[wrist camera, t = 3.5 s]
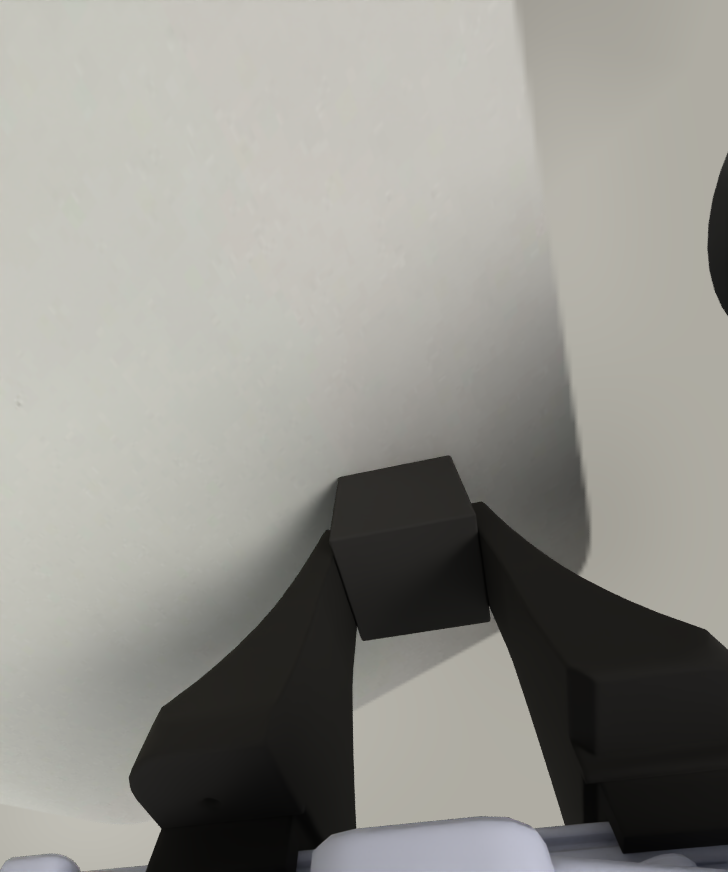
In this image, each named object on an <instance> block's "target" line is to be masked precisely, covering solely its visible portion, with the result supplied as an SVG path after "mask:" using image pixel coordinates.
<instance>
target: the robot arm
mask: <svg viewBox="0 0 728 872" xmlns="http://www.w3.org/2000/svg"><path fill="white" fill-rule="evenodd" d="M471 505H472V507H473V509H474V512H475V514H476V520H477V527H478V534H479V541H480V548H481V555H482V562H483V569H484V576H485V583H486V590H487V597H488V604H489V607H490V609H491V611H492V614H493V616H494V618H495V620H496V623H497V625H498V627H499V630H500V632H501V634H502V637H503V639H504V641H505V643H506V646H507V648H508V650H509V653H510V656H511V658H512V661H513V663H514V666H515V669H516V673H517V676H518V679H519V682H520V685H521V688H522V691H523V693H524V697H525V700H526V703H527V706H528V709H529V712H530V715H531V718H532V721H533V724H534V727H535V730H536V734H537V737H538V740H539V743H540V746H541V750H542V753H543V756H544V759H545V762H546V765H547V769H548V772H549V775H550V778H551V781H552V785H553V788H554V791H555V794H556V797H557V801H558V804H559V807H560V811H561V814H562V817H563V820H564V824H565V826H555V827H544V828H532V827H531V826H530V825H528V824H525V823H522V822H520V821H517V820H514V819H512V818H509V817H488V816H487V817H486V816H479V817H468V818H458V819H448V820H439V821H428V822H418V823H408V824H399V825H389V826H379V827H369V828H358V829H356V814H355V793H354V792H355V790H354V760H353V701H352V684H353V666H354V654H355V643H356V631H357V624H356V621H355V618H354V615H353V612H352V609H351V606H350V603H349V600H348V597H347V594H346V591H345V588H344V585H343V582H342V579H341V576H340V573H339V570H338V567H337V564H336V561H335V558H334V555H333V552H332V549H331V546H330V543H329V536H330V530H326V531H325V532H324V534H323V536H322V537H321V539H320V540H319V542H318V544H317V545H316V547H315V549H314V550H313V552H312V554H311V555H310V557H309V558H308V560H307V562H306V563H305V565H304V566H303V568H302V569H301V571H300V572H299V574H298V575H297V577H296V578H295V580H294V581H293V583H292V584H291V585H290V587H289V588H288V589H287V591H286V592H285V594H284V595H283V596H282V598H281V599H280V600H279V602H278V603H277V604H276V605H275V607H274V608H273V609H272V610H271V611H270V612H269V614H268V615H267V616H266V617H265V618H264V619H263V620H262V622H261V623H260V624H259V625H258V626H257V627H256V628H255V629H254V630H253V631H252V632H251V633H250V634H249V635H248V636H247V637H246V638H245V639H244V640H243V641H242V642H241V643H240V644H239V645H238V646H237V647H236V648H235V649H234V650H233V651H232V652H231V653H229V654H228V655H227V656H226V657H225V658H224V659H223V660H222V661H221V662H219V663H218V664H217V665H216V666H215V667H214V668H212V669H211V670H210V671H209V672H208V673H206V674H205V675H204V676H203V677H201V678H200V679H199V680H198V681H197V682H195V683H194V684H193V685H191V686H190V687H189V688H187V689H186V690H185V691H183V692H182V693H181V694H179V695H178V696H177V697H175V698H174V699H173V700H171V701H170V702H169V703H167V704H166V705H164V706H163V707H162V708H161V710H160V712H159V713H158V715H157V717H156V719H155V721H154V723H153V725H152V727H151V729H150V732H149V734H148V736H147V738H146V740H145V742H144V744H143V746H142V748H141V751H140V753H139V755H138V757H137V759H136V761H135V763H134V765H133V767H132V770H131V773H130V775H129V783H130V788H131V791H132V793H133V794H134V796H135V798H136V799H137V801H138V802H139V803H140V804H141V805H142V806H143V808H144V809H145V810H146V811H147V812H148V813H149V815H150V816H151V817H152V818H153V819H154V820H155V821H156V823H157V824H158V825H159V826H160V827H161V832H160V834H159V837H158V840H157V842H156V845H155V848H154V851H153V853H152V856H151V858H150V861H149V864H148V865H146V866H135V867H126V868H114V869H105V870H94V871H83V872H728V649H726V647H724V646H723V645H722V644H721V643H720V642H719V641H718V640H717V639H715V638H714V637H713V636H712V635H711V634H710V633H709V632H708V631H707V630H705V629H702V628H700V627H697V626H694V625H691V624H688V623H686V622H683V621H680V620H677V619H674V618H671V617H668V616H666V615H663V614H660V613H658V612H655V611H653V610H650V609H648V608H645V607H643V606H641V605H638V604H636V603H634V602H631V601H629V600H627V599H624V598H622V597H620V596H618V595H615V594H614V593H611V592H609V591H607V590H605V589H603V588H602V587H599V586H597V585H596V584H594V583H592V582H590V581H588V580H586V579H584V578H582V577H580V576H579V575H577V574H575V573H573V572H572V571H570V570H568V569H567V568H565V567H563V566H562V565H560V564H559V563H557V562H556V561H554V560H553V559H551V558H550V557H548V556H547V555H545V554H544V553H543V552H541V551H540V550H538V549H537V548H536V547H534V546H533V545H532V544H530V543H529V542H528V541H526V540H525V539H524V538H523V537H522V536H520V535H519V534H518V533H517V532H515V531H514V530H513V529H512V528H511V527H509V526H508V525H507V524H506V523H505V522H504V521H503V520H502V519H500V518H499V517H498V516H497V515H496V514H495V513H494V512H493V511H492V510H491V509H490V508H489V507H488V506H487V505H486V504H485V503H483V502H477V503H472V504H471ZM0 872H81V871H80V868H79V867H78V866H77V864H76V863H75V862H74V861H73V860H71V859H70V858H68V857H66V856H64V855H59V854H42V855H32V856H23V857H13V858H10V859H8V860H7V861H6V862H5V863H4V865H3V866H2V868H1V870H0Z"/></svg>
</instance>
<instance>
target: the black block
mask: <svg viewBox="0 0 728 872" xmlns="http://www.w3.org/2000/svg"><path fill="white" fill-rule="evenodd" d="M329 543H330V546H331V549H332V552H333V555H334V558H335V561H336V564H337V567H338V570H339V573H340V576H341V579H342V582H343V585H344V588H345V591H346V594H347V597H348V600H349V603H350V606H351V609H352V612H353V615H354V618H355V621H356V624H357V627H358V630H359V633H360V636H361V639H362V640H363V641H367V640H373V639H380V638H386V637H393V636H399V635H406V634H412V633H419V632H426V631H432V630H439V629H445V628H452V627H458V626H465V625H471V624H478V623H485V622H489V621H490V619H491V618H490V611H489V604H488V597H487V590H486V583H485V576H484V569H483V562H482V555H481V548H480V541H479V534H478V527H477V520H476V514H475V512H474V509H473V507H472V505H471V502H470V500H469V498H468V495H467V493H466V491H465V488H464V486H463V484H462V481H461V479H460V477H459V475H458V472H457V470H456V468H455V465H454V463H453V461H452V458H451V457H450V456H444V457H439V458H434V459H429V460H424V461H419V462H414V463H409V464H404V465H399V466H394V467H389V468H384V469H379V470H374V471H369V472H364V473H359V474H354V475H348V476H343V477H340V478H338V484H337V491H336V497H335V504H334V510H333V517H332V523H331V530H330V536H329Z"/></svg>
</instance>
